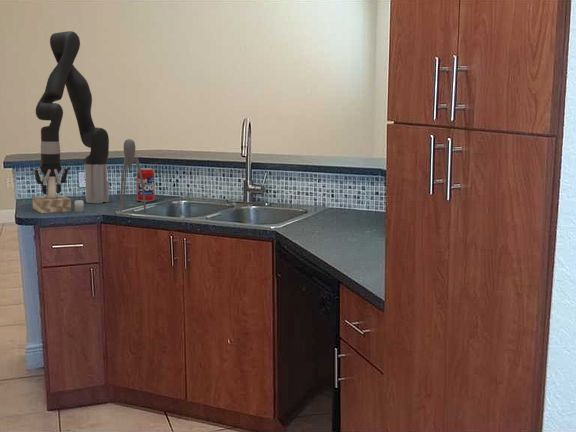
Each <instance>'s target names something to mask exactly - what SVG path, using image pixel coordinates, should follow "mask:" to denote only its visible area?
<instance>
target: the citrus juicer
mask: <svg viewBox="0 0 576 432" xmlns="http://www.w3.org/2000/svg"><path fill="white" fill-rule="evenodd" d="M123 153H124V158H123V164H122V165H123V166H122V172H121V182H120V194H119V197H120V198H119V213H120V212H123V210H126V187H127V186H126V185H127V172H128V171H129V172H130V171H131V168H132V165H133V164H135V165H136V167H137V171H139V176H140V181H141V186H142V193H143V202H142V203H143V212H146V211H147V210H146V209H147V205H146V204H147V202H145V192H144V185H143V179H142V173H141V169H140V168H141V165H140V160H139V157H138V156H136V157H135V155H136V143H135V141H134V140H133V139H131V138H130V139H129V138H127V139H125V140H124V142H123ZM127 169H128V171H127ZM122 208H124V209H122Z"/></svg>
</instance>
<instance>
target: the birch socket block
mask: <svg viewBox="0 0 576 432" xmlns="http://www.w3.org/2000/svg"><path fill="white" fill-rule="evenodd" d="M31 199H32V210H34V211H36V212H38V213H40V214H51V213H62V212H63V213H65V212H72V198H69V197H67V196H64V195H60V194H59V195H56V199H47V195H45V196H32V198H31Z"/></svg>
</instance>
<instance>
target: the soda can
mask: <svg viewBox="0 0 576 432" xmlns="http://www.w3.org/2000/svg"><path fill="white" fill-rule="evenodd" d="M140 169H141V173H142V179H143V185H144V192H145V203H152V202H153V201H155V171H154V169H153V168H149V167H140ZM136 200H137V201H139V202H140V201H141V202H140V203H143V193H142V186H141V181H140V176H139V171H138V170H137V171H136ZM151 201H152V202H151Z"/></svg>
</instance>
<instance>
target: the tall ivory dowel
mask: <svg viewBox="0 0 576 432" xmlns="http://www.w3.org/2000/svg"><path fill="white" fill-rule="evenodd" d="M56 184H57V183H56V177H48V180H47V182H46V187H47V194H46V196H47V199H56V196H57V193H56Z"/></svg>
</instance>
